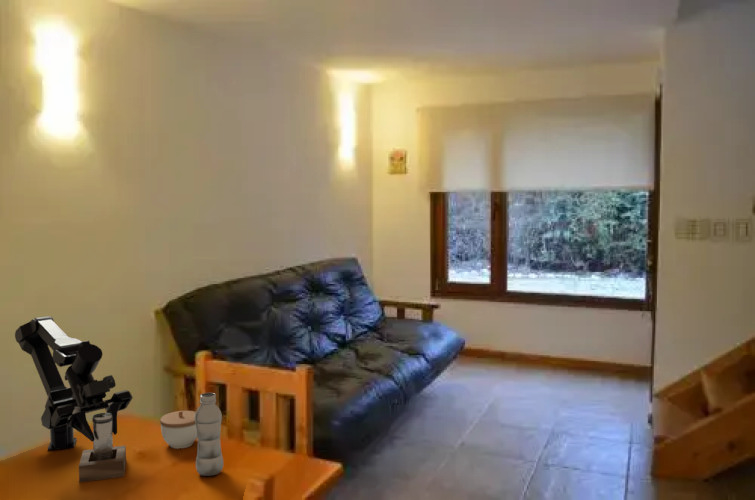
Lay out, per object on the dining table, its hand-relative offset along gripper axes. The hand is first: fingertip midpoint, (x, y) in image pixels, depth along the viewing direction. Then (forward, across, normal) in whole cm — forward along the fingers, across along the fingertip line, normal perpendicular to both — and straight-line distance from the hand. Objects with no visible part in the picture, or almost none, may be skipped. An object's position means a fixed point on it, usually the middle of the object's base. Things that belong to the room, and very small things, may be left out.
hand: (104, 437), depth 158 cm
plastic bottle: (+20, +17, -8) cm, 27 cm away
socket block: (+5, 0, +7) cm, 9 cm away
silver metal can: (+5, 0, +7) cm, 8 cm away
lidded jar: (+5, +22, +8) cm, 24 cm away
